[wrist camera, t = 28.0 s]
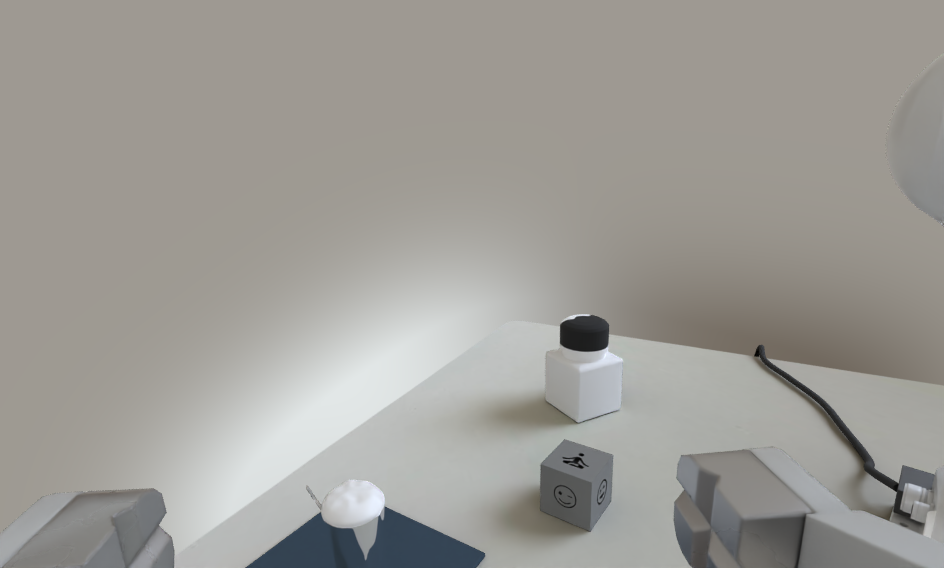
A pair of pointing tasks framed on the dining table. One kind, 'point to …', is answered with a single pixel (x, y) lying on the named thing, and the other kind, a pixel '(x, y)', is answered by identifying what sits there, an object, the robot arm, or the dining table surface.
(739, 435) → the dining table surface
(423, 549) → the mat
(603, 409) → the medicine bottle
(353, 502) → the milkshake
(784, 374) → the robot arm
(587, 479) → the dice cube
